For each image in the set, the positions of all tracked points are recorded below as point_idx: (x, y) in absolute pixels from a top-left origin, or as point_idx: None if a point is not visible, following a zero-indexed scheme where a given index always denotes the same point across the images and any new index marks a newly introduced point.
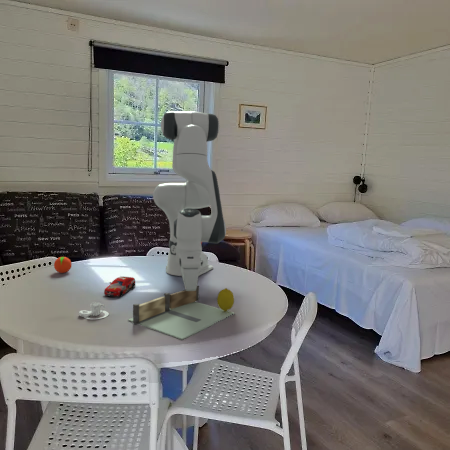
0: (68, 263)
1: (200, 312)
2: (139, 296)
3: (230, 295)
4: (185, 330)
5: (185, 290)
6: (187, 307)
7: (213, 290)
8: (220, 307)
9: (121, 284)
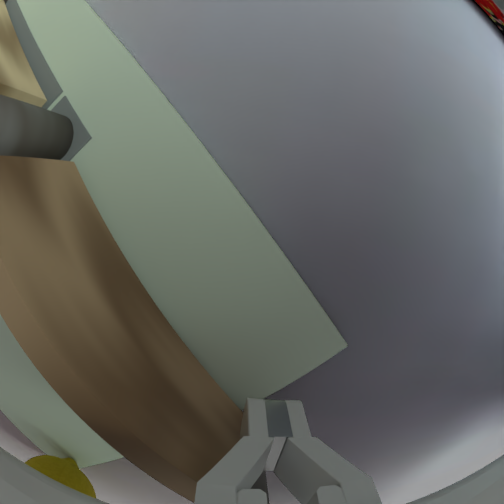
0: None
1: (34, 371)
2: (457, 39)
3: None
4: None
5: (116, 437)
6: None
7: (398, 467)
8: (37, 456)
9: None
